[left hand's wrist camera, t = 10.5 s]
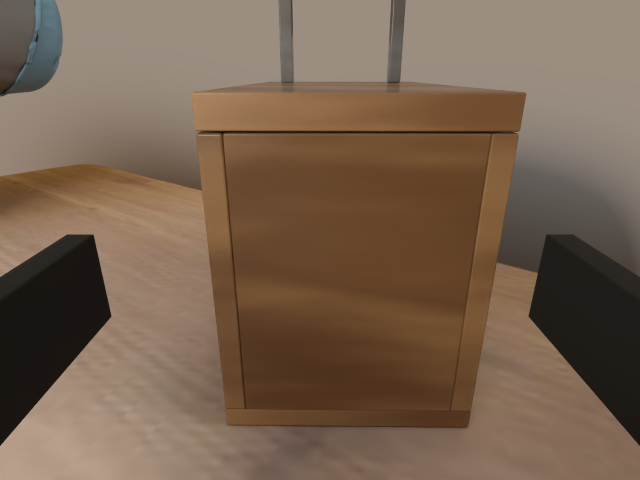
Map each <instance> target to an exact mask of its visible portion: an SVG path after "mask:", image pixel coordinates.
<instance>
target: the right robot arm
mask: <svg viewBox="0 0 640 480" xmlns="http://www.w3.org/2000/svg"><path fill="white" fill-rule="evenodd" d="M62 40H63V38H62V25H61V19H60V14H59V11H58V7H57V4H56V2H55V0H0V96H4V95H7V94H11V93H22V92H31V91H35V90H38V89H40V88H42V87H43V86H45V85H46V84H47V83H48V82H49V81H50V80H51V78H52V77H53V76H54V74H55V72H56V70H57V68H58V64H59V58H60V56H61V53H62Z"/></svg>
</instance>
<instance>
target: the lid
mask: <svg viewBox="0 0 640 480" xmlns="http://www.w3.org/2000/svg"><path fill="white" fill-rule="evenodd" d="M404 15H405V0H391V18H390V36H389V53H388V71H387V82H294V64H293V18H292V0H279V25H280V54H281V55H280V56H281V82H265V83H258V84H250V85H243V86H236V87H228V88H221V89H214V90H206V91H199V92H192V94H191V96H192V105H193V115H194V124H195V130H196V131H433V132H518V131H520V127H521V121H522V115H523V109H524V104H525V98H526V93H524V92H513V91H503V90H492V89H481V88H470V87H459V86H448V85H437V84H426V83H415V82H400V74H401V59H402V45H403V30H404Z"/></svg>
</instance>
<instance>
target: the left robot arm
mask: <svg viewBox="0 0 640 480" xmlns="http://www.w3.org/2000/svg"><path fill="white" fill-rule="evenodd" d="M110 317H111V312H110V308H109V303H108V299H107V294H106V290H105V285H104V280H103V276H102V271H101V267H100V262H99V258H98V253H97V248H96V244H95V239H94V235H66V236H64V237H63V238H61V239H59V240H58V241H56V242H55V243H53V244H52V245H50V246H48V247H47V248H45V249H44V250H42V251H41V252H39V253H37V254H36V255H34V256H33V257H31V258H30V259H28V260H26V261H25V262H23V263H22V264H20V265H19V266H17V267H15V268H14V269H12V270H11V271H9V272H8V273H6V274H5V275H3V276H1V277H0V445H1V444H2V443H3V442H4V441H5V440H6V438H7V437H8V436H9V435H10V434H11V433H12V431H13V430H14V429H15V428H16V427H17V426H18V425H19V423H20V422H21V421H22V420H23V419H24V418H25V416H26V415H27V414H28V413H29V412H30V411H31V409H32V408H33V407H34V406H35V405H36V404H37V402H38V401H39V400H40V399H41V398H42V397H43V395H44V394H45V393H46V392H47V391H48V390H49V388H50V387H51V386H52V385H53V384H54V383H55V381H56V380H57V379H58V378H59V377H60V376H61V374H62V373H63V372H64V371H65V370H66V369H67V367H68V366H69V365H70V364H71V363H72V362H73V360H74V359H75V358H76V357H77V356H78V355H79V354H80V352H81V351H82V350H83V349H84V348H85V347H86V345H87V344H88V343H89V342H90V341H91V340H92V338H93V337H94V336H95V335H96V334H97V333H98V331H99V330H100V329H101V328H102V327H103V326H104V324H105V323H106V322H107V321H108V320H109V319H110ZM529 317H530V319H531V320H532V321H533V322H534V323H535V324H536V326H537V327H538V328H539V329H540V330H541V331H542V333H543V334H544V335H545V336H546V337H547V338H548V340H549V341H550V342H551V343H552V344H553V345H554V347H555V348H556V349H557V350H558V351H559V352H560V354H561V355H562V356H563V357H564V358H565V359H566V360H567V362H568V363H569V364H570V365H571V366H572V367H573V369H574V370H575V371H576V372H577V373H578V374H579V376H580V377H581V378H582V379H583V380H584V381H585V383H586V384H587V385H588V386H589V387H590V388H591V390H592V391H593V392H594V393H595V394H596V395H597V397H598V398H599V399H600V400H601V401H602V402H603V404H604V405H605V406H606V407H607V408H608V409H609V411H610V412H611V413H612V414H613V415H614V416H615V418H616V419H617V420H618V421H619V422H620V423H621V425H622V426H623V427H624V428H625V429H626V430H627V431H628V433H629V434H630V435H631V436H632V437H633V438H634V440H635V441H636V442H637V443H638V444H639V445H640V277H639V276H637V275H635V274H634V273H632V272H631V271H629V270H628V269H626V268H624V267H623V266H621V265H620V264H618V263H617V262H615V261H614V260H612V259H610V258H609V257H607V256H606V255H604V254H602V253H601V252H599V251H598V250H596V249H595V248H593V247H592V246H590V245H588V244H587V243H585V242H584V241H582V240H581V239H579V238H577V237H576V236H574V235H546V239H545V244H544V248H543V253H542V258H541V262H540V267H539V271H538V276H537V280H536V285H535V290H534V294H533V299H532V303H531V308H530V312H529Z"/></svg>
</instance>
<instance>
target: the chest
mask: <svg viewBox="0 0 640 480" xmlns="http://www.w3.org/2000/svg"><path fill="white" fill-rule="evenodd" d="M518 137H519V135H518V134H517V133H514V132H433V131H201V132H199V133H197V135H196V139H197V148H198V157H199V166H200V175H201V185H202V194H203V203H204V212H205V222H206V231H207V240H208V249H209V258H210V268H211V277H212V286H213V295H214V304H215V314H216V323H217V332H218V341H219V350H220V360H221V369H222V378H223V387H224V397H225V406H226V418H227V424H228V425H313V426H418V427H468V424H469V418H470V411H471V406H472V400H473V395H474V389H475V383H476V377H477V372H478V366H479V360H480V354H481V349H482V343H483V337H484V332H485V326H486V320H487V314H488V309H489V303H490V297H491V292H492V286H493V280H494V274H495V269H496V263H497V257H498V251H499V246H500V240H501V234H502V228H503V223H504V217H505V211H506V206H507V200H508V194H509V189H510V183H511V177H512V171H513V165H514V160H515V154H516V149H517V143H518Z"/></svg>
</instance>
